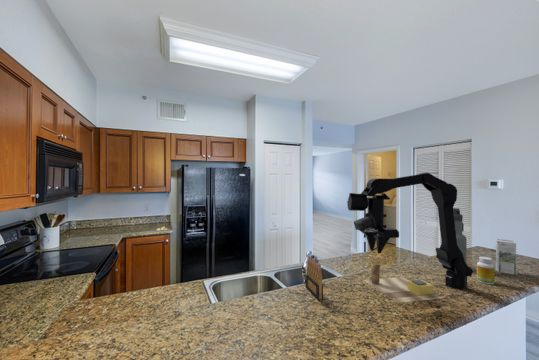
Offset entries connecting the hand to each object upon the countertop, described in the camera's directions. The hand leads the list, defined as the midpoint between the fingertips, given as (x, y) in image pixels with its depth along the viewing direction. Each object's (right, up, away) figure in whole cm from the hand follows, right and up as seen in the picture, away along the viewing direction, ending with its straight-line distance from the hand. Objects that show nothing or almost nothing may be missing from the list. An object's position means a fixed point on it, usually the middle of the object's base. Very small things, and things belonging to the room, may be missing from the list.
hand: (375, 251), depth 94 cm
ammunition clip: (-25, -13, -8) cm, 29 cm away
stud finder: (+13, -12, -7) cm, 19 cm away
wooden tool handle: (0, -12, 0) cm, 12 cm away
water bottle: (+48, -14, +24) cm, 55 cm away
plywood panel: (+7, -13, -5) cm, 16 cm away
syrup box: (+66, -14, +16) cm, 69 cm away
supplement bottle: (+47, -14, +5) cm, 49 cm away
